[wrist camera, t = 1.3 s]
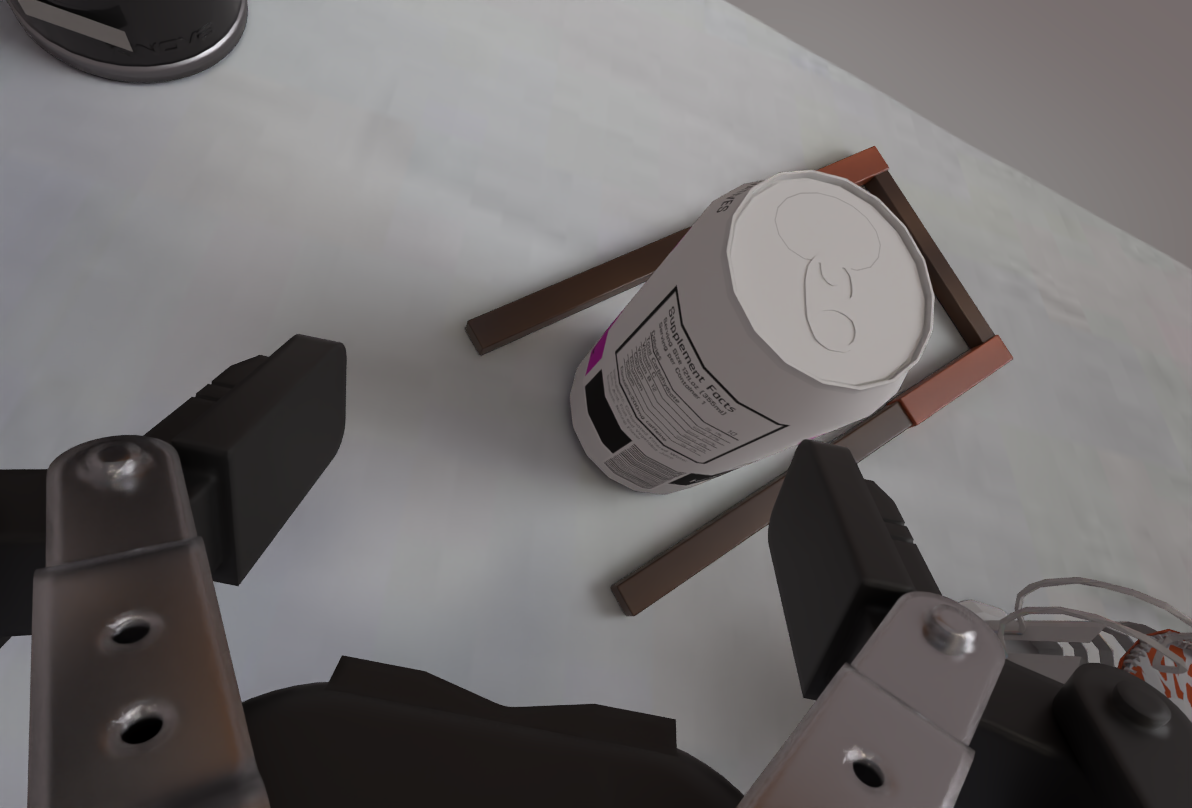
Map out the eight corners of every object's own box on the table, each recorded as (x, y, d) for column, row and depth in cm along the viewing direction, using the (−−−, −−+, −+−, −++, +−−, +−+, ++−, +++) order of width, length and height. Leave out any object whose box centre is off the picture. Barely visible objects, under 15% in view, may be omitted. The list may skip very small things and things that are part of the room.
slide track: (463, 327, 32) (466, 317, 31) (862, 157, 43) (875, 144, 42) (627, 619, 31) (636, 619, 30) (997, 365, 42) (1014, 358, 41)
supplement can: (570, 322, 34) (706, 124, 20) (723, 349, 36) (937, 186, 22) (559, 485, 31) (705, 386, 18) (724, 504, 34) (966, 427, 20)
